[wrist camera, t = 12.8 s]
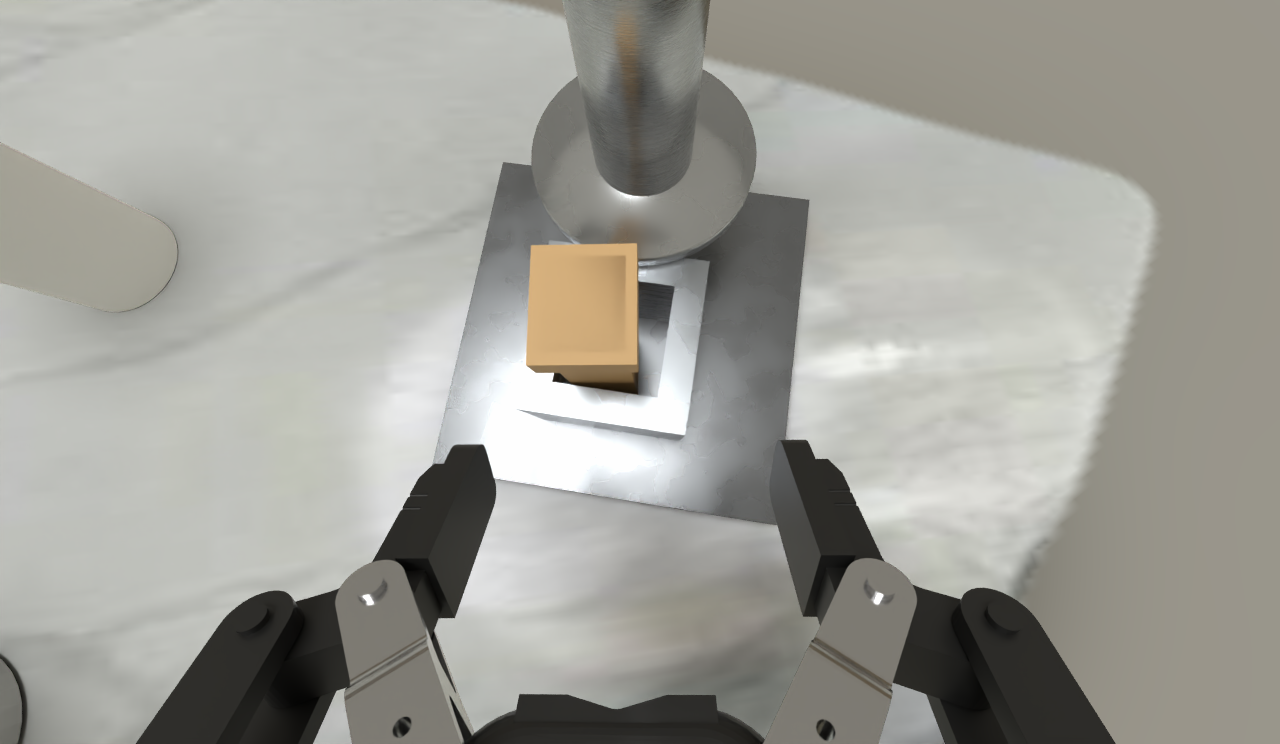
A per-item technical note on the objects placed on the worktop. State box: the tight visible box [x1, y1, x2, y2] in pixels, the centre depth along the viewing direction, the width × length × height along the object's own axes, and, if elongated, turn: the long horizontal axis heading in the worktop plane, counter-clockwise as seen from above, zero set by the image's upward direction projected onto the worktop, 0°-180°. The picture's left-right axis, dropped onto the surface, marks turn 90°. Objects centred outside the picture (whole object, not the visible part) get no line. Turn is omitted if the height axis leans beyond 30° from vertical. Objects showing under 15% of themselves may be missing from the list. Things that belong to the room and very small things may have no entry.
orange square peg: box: [526, 243, 639, 395], centre depth 22 cm, size 4×4×12 cm
